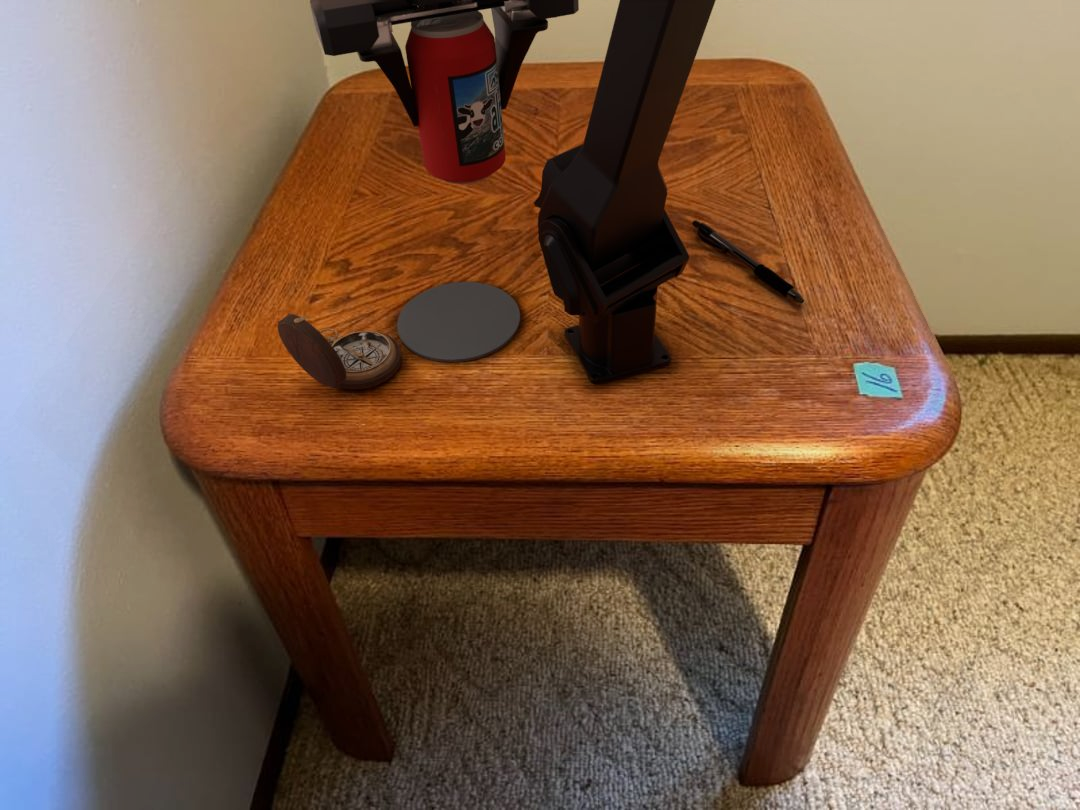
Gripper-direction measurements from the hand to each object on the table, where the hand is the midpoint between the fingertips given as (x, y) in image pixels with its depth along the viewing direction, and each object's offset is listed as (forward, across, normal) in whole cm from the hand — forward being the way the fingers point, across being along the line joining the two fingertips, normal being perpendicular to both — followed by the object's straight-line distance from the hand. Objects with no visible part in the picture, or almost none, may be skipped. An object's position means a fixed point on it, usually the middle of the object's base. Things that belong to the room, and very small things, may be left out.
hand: (459, 115), depth 68 cm
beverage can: (+5, 0, 0) cm, 5 cm away
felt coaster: (+13, +4, +9) cm, 16 cm away
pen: (+13, -21, +11) cm, 27 cm away
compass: (+13, +13, +11) cm, 22 cm away
